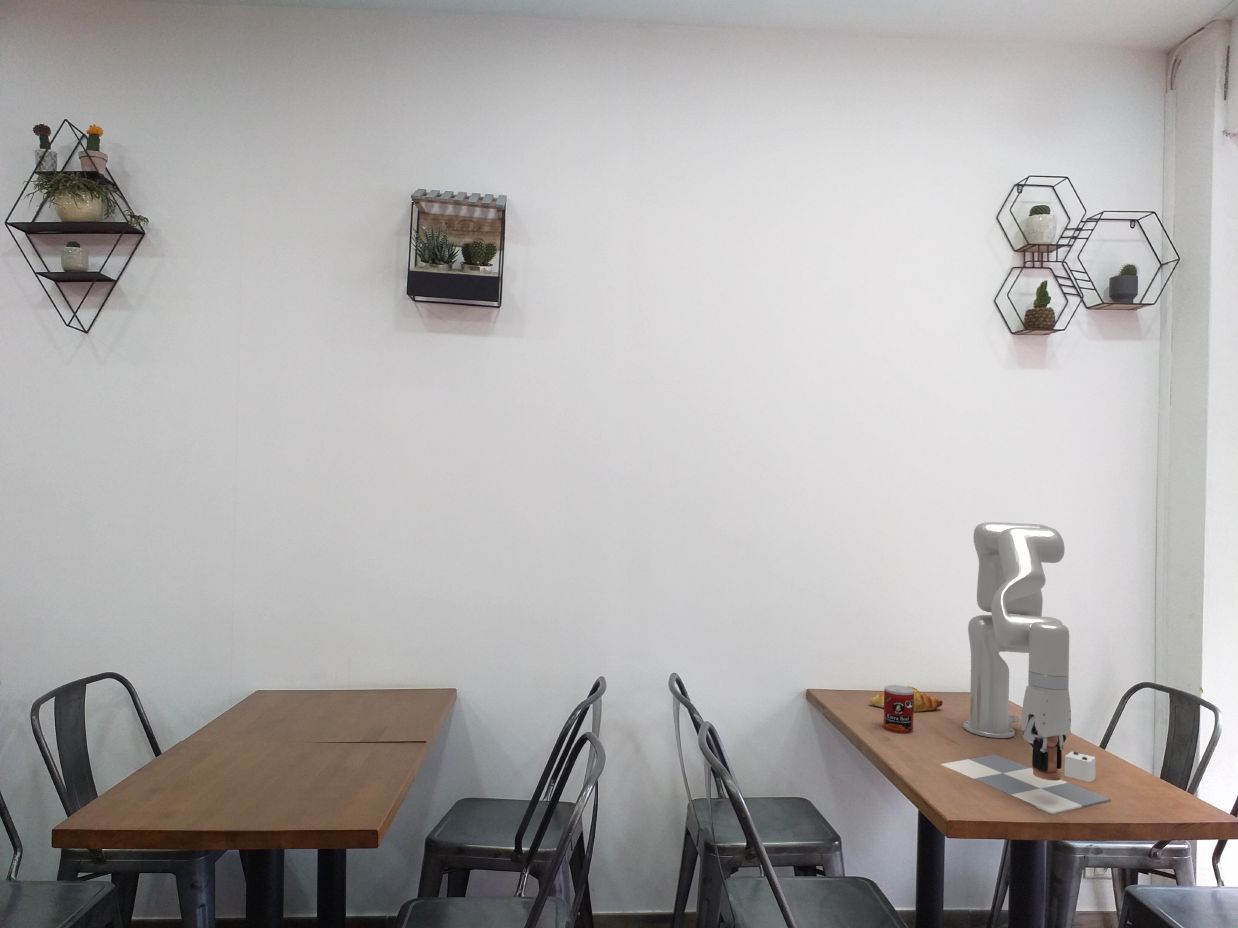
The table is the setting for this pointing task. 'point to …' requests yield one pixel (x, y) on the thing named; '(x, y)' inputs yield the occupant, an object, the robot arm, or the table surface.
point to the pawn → (1050, 761)
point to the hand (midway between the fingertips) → (1046, 766)
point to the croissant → (920, 701)
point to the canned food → (898, 708)
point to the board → (1026, 784)
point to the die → (1080, 766)
